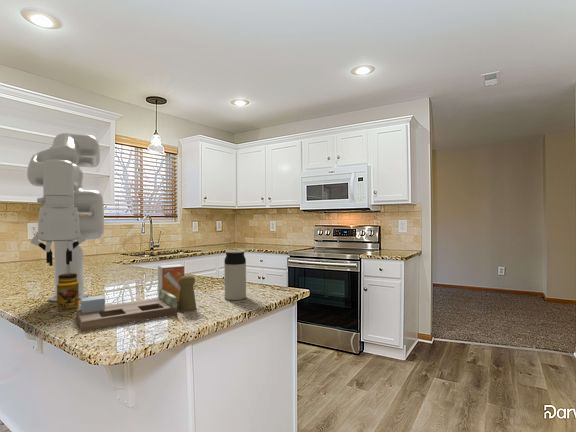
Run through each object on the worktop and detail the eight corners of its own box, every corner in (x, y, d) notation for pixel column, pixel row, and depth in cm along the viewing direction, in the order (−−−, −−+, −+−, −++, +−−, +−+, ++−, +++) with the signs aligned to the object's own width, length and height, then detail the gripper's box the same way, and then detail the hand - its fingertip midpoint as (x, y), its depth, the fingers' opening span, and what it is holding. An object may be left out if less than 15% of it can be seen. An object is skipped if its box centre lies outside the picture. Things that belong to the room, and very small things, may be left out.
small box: (162, 304, 123) (161, 267, 123) (157, 300, 129) (157, 265, 129) (185, 301, 128) (184, 265, 128) (179, 297, 133) (179, 263, 133)
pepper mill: (199, 307, 119) (199, 275, 119) (189, 312, 114) (189, 278, 113) (184, 305, 121) (184, 274, 121) (173, 310, 115) (173, 277, 115)
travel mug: (232, 301, 127) (231, 252, 127) (220, 297, 133) (220, 250, 133) (250, 298, 132) (249, 250, 132) (238, 294, 138) (238, 249, 138)
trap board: (76, 317, 108) (76, 299, 108) (162, 304, 123) (162, 288, 123) (81, 331, 95) (81, 310, 95) (176, 314, 110) (176, 297, 110)
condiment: (66, 314, 112) (66, 276, 112) (46, 312, 115) (46, 275, 115) (85, 308, 119) (85, 273, 119) (66, 306, 122) (66, 272, 122)
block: (80, 309, 108) (80, 298, 108) (102, 306, 112) (102, 295, 112) (82, 313, 104) (82, 301, 104) (104, 309, 108) (104, 298, 108)
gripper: (23, 201, 95) (23, 269, 95) (92, 202, 105) (93, 263, 105) (24, 202, 101) (24, 265, 101) (89, 203, 111) (90, 261, 111)
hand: (59, 264), depth 103 cm, fingers open, 3 cm apart
